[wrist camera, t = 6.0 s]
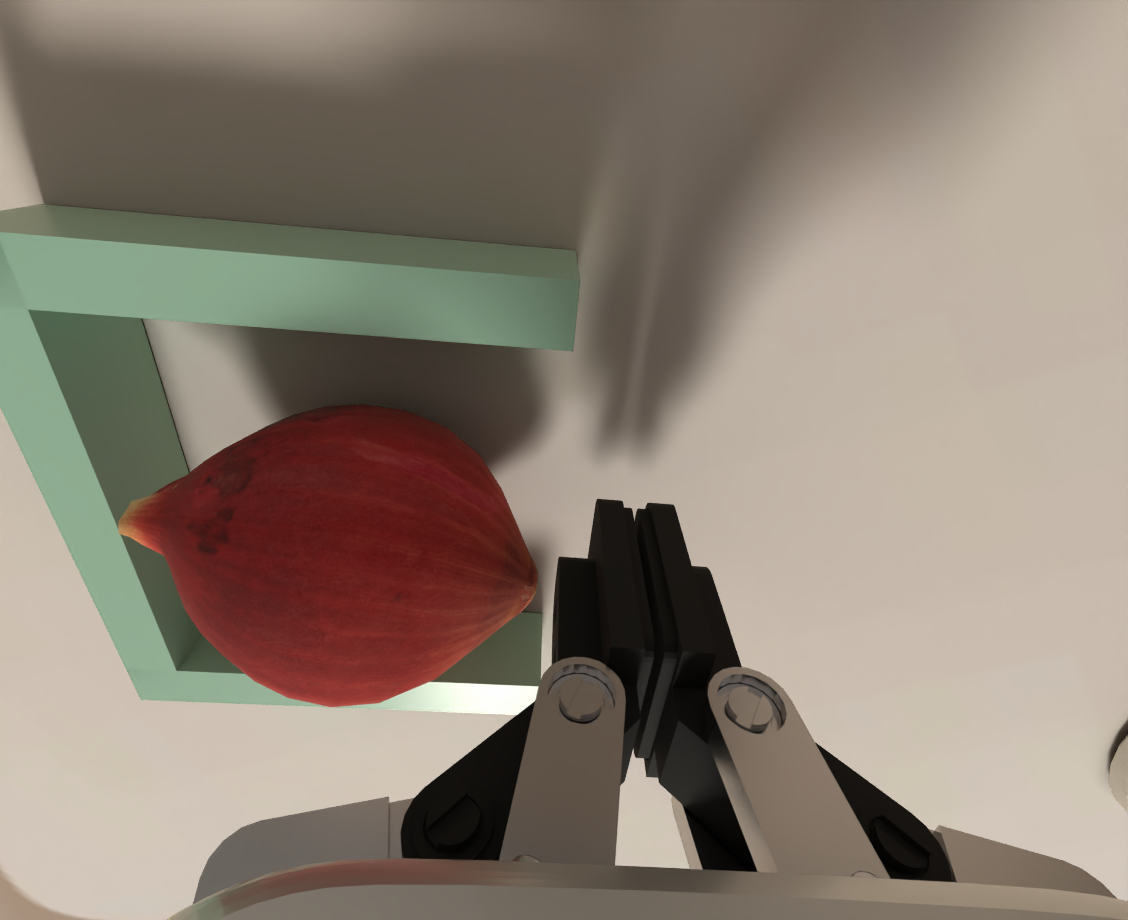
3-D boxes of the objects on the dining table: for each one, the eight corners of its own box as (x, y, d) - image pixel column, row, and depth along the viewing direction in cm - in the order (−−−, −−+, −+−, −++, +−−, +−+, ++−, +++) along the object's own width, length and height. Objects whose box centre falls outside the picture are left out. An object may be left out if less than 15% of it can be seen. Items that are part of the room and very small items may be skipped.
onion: (550, 428, 15) (209, 339, 12) (615, 506, 9) (27, 372, 7) (491, 624, 16) (171, 574, 14) (517, 796, 10) (-9, 759, 8)
